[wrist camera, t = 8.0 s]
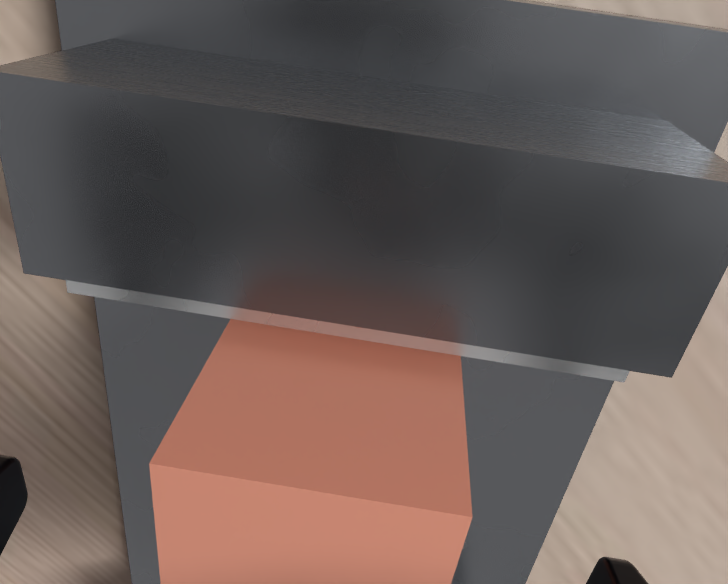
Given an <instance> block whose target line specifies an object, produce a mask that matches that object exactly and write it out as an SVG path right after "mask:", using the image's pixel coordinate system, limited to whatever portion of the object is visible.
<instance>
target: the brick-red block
mask: <svg viewBox="0 0 728 584" xmlns="http://www.w3.org/2000/svg"><path fill="white" fill-rule="evenodd" d="M149 467H150V478H151V488H152V499H153V509H154V520H155V530H156V541H157V551H158V562H159V572H160V582H161V584H451V582H452V579H453V576H454V573H455V570H456V567H457V564H458V560H459V557H460V554H461V551H462V548H463V545H464V542H465V539H466V536H467V533H468V530H469V527H470V523H471V520H472V504H471V490H470V476H469V463H468V449H467V435H466V421H465V408H464V394H463V380H462V367H461V356H458V355H452V354H445V353H439V352H433V351H427V350H421V349H414V348H408V347H402V346H396V345H390V344H384V343H377V342H371V341H365V340H359V339H353V338H346V337H340V336H334V335H328V334H322V333H315V332H309V331H303V330H297V329H291V328H284V327H278V326H272V325H266V324H260V323H253V322H247V321H241V320H235V319H230V321H229V323H228V324H227V326H226V328H225V330H224V331H223V333H222V335H221V337H220V339H219V340H218V342H217V344H216V346H215V347H214V349H213V351H212V353H211V355H210V356H209V358H208V360H207V362H206V363H205V365H204V367H203V369H202V371H201V372H200V374H199V376H198V378H197V379H196V381H195V383H194V385H193V387H192V388H191V390H190V392H189V394H188V395H187V397H186V399H185V401H184V403H183V404H182V406H181V408H180V410H179V411H178V413H177V415H176V417H175V418H174V420H173V422H172V424H171V426H170V427H169V429H168V431H167V433H166V434H165V436H164V438H163V440H162V442H161V443H160V445H159V447H158V449H157V450H156V452H155V454H154V456H153V458H152V459H151V461H150V463H149Z"/></svg>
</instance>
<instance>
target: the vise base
mask: <svg viewBox="0 0 728 584" xmlns="http://www.w3.org/2000/svg"><path fill="white" fill-rule="evenodd" d="M55 2H56V10H57V17H58V25H59V33H60V40H61V48H62V51H58V52H54V53H50V54H46V55H42V56H38V57H33V58H29V59H25V60H21V61H17V62H13V63H9V64H4V65H0V156H1V161H2V166H3V171H4V176H5V181H6V186H7V191H8V197H9V202H10V207H11V212H12V217H13V222H14V227H15V232H16V237H17V242H18V247H19V252H20V257H21V262H22V267H23V272H24V273H25V274H31V275H38V276H44V277H50V278H56V279H63V280H66V286H67V292H68V293H74V294H80V295H86V296H92V297H94V299H95V306H96V314H97V322H98V329H99V337H100V344H101V352H102V360H103V367H104V375H105V382H106V390H107V398H108V405H109V413H110V420H111V428H112V436H113V443H114V451H115V458H116V466H117V474H118V481H119V489H120V497H121V504H122V512H123V519H124V527H125V535H126V542H127V550H128V557H129V565H130V573H131V580H132V584H161V582H160V572H159V562H158V551H157V541H156V530H155V520H154V509H153V499H152V488H151V478H150V467H149V463H150V461H151V459H152V458H153V456H154V454H155V452H156V450H157V449H158V447H159V445H160V443H161V442H162V440H163V438H164V436H165V434H166V433H167V431H168V429H169V427H170V426H171V424H172V422H173V420H174V418H175V417H176V415H177V413H178V411H179V410H180V408H181V406H182V404H183V403H184V401H185V399H186V397H187V395H188V394H189V392H190V390H191V388H192V387H193V385H194V383H195V381H196V379H197V378H198V376H199V374H200V372H201V371H202V369H203V367H204V365H205V363H206V362H207V360H208V358H209V356H210V355H211V353H212V351H213V349H214V347H215V346H216V344H217V342H218V340H219V339H220V337H221V335H222V333H223V331H224V330H225V328H226V326H227V324H228V323H229V321H230V319H235V320H241V321H247V322H253V323H260V324H266V325H272V326H278V327H284V328H291V329H297V330H303V331H309V332H315V333H322V334H328V335H334V336H340V337H346V338H353V339H359V340H365V341H371V342H377V343H384V344H390V345H396V346H402V347H408V348H414V349H421V350H427V351H433V352H439V353H445V354H452V355H458V356H461V367H462V380H463V394H464V408H465V421H466V435H467V449H468V463H469V476H470V490H471V504H472V520H471V523H470V527H469V530H468V533H467V536H466V539H465V542H464V545H463V548H462V551H461V554H460V557H459V560H458V564H457V567H456V570H455V573H454V576H453V579H452V582H451V584H525V583H526V581H527V579H528V576H529V574H530V572H531V569H532V567H533V565H534V563H535V560H536V558H537V556H538V553H539V551H540V549H541V547H542V544H543V542H544V540H545V537H546V535H547V533H548V531H549V528H550V526H551V524H552V521H553V519H554V517H555V515H556V512H557V510H558V508H559V505H560V503H561V501H562V499H563V496H564V494H565V492H566V489H567V487H568V485H569V483H570V480H571V478H572V476H573V474H574V471H575V469H576V467H577V464H578V462H579V460H580V458H581V455H582V453H583V451H584V448H585V446H586V444H587V442H588V439H589V437H590V435H591V432H592V430H593V428H594V426H595V423H596V421H597V419H598V416H599V414H600V412H601V410H602V407H603V405H604V403H605V400H606V398H607V396H608V394H609V391H610V389H611V387H612V384H613V382H614V381H619V382H625V380H626V378H627V375H628V373H629V371H634V372H640V373H647V374H653V375H659V376H665V377H671V378H672V376H673V374H674V372H675V370H676V368H677V366H678V364H679V362H680V360H681V358H682V356H683V354H684V352H685V350H686V348H687V346H688V344H689V342H690V340H691V338H692V336H693V334H694V332H695V330H696V328H697V326H698V324H699V322H700V320H701V318H702V316H703V314H704V312H705V310H706V308H707V306H708V304H709V302H710V300H711V298H712V296H713V294H714V292H715V290H716V288H717V286H718V284H719V282H720V280H721V278H722V276H723V274H724V272H725V270H726V268H727V266H728V162H727V161H725V160H724V159H722V158H721V157H719V156H718V155H716V154H715V153H714V152H715V149H716V147H717V145H718V142H719V140H720V138H721V136H722V133H723V131H724V129H725V126H726V124H727V122H728V29H721V28H714V27H707V26H700V25H693V24H686V23H679V22H672V21H665V20H659V19H652V18H645V17H638V16H631V15H624V14H617V13H610V12H603V11H596V10H590V9H583V8H576V7H569V6H562V5H555V4H548V3H541V2H534V1H527V0H55Z"/></svg>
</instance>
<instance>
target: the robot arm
mask: <svg viewBox="0 0 728 584" xmlns="http://www.w3.org/2000/svg"><path fill="white" fill-rule="evenodd" d="M26 502H27V488H26V484H25V480H24V476H23V473H22V469H21V465H20V462H19V461H18V460H17V459H16V458H14V457H10V456H4V455H0V555H1V553H2V551H3V549H4V547H5V545H6V543H7V541H8V539H9V537H10V536H11V534H12V532H13V530H14V528H15V526H16V524H17V522H18V520H19V518H20V516H21V514H22V512H23V510H24V508H25V505H26ZM586 584H648V583H647V582H646V580H645V579H644V578H643V577H642V575H641V574H640V573H639V571H638V570H637V569H636V568H635V567H634V565H632V564H631V563H630V562H628V561H626V560H622V559H616V558H610V557H602V558H601V559H599V561H598V562H597V564H596V566H595V568H594V569H593V571H592V573H591V575H590V577H589V579H588V581H587V583H586Z"/></svg>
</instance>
